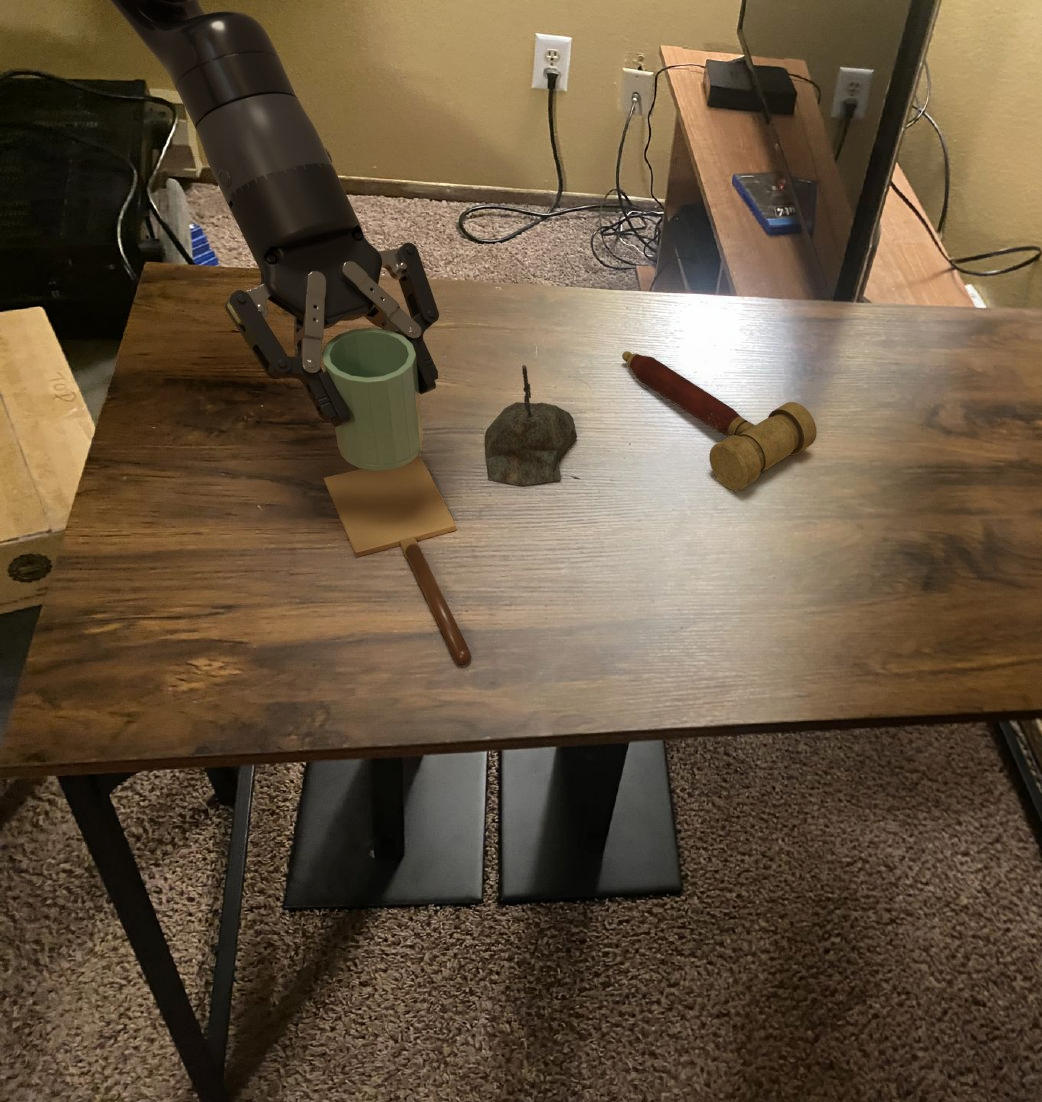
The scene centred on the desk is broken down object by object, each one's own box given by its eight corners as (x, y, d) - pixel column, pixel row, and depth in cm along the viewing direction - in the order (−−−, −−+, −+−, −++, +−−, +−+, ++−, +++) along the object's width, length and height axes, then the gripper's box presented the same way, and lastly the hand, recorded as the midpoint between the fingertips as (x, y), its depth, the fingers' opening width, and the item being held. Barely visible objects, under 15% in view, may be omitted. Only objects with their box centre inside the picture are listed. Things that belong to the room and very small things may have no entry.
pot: (328, 465, 74) (311, 374, 68) (350, 412, 78) (335, 322, 72) (413, 475, 75) (404, 386, 68) (430, 422, 79) (423, 333, 73)
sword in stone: (497, 405, 92) (495, 294, 83) (582, 420, 92) (589, 310, 83) (469, 478, 85) (463, 365, 76) (561, 493, 85) (566, 382, 77)
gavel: (585, 352, 94) (661, 317, 100) (585, 391, 97) (658, 356, 103) (748, 460, 85) (821, 415, 91) (742, 500, 88) (813, 454, 94)
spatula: (324, 482, 82) (322, 472, 81) (420, 459, 85) (419, 449, 84) (410, 685, 70) (409, 675, 69) (518, 649, 74) (518, 639, 73)
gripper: (360, 177, 75) (454, 384, 79) (165, 223, 68) (279, 450, 71) (390, 140, 69) (490, 366, 73) (180, 185, 62) (304, 436, 65)
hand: (386, 406), depth 72 cm, fingers closed on pot, 6 cm apart
